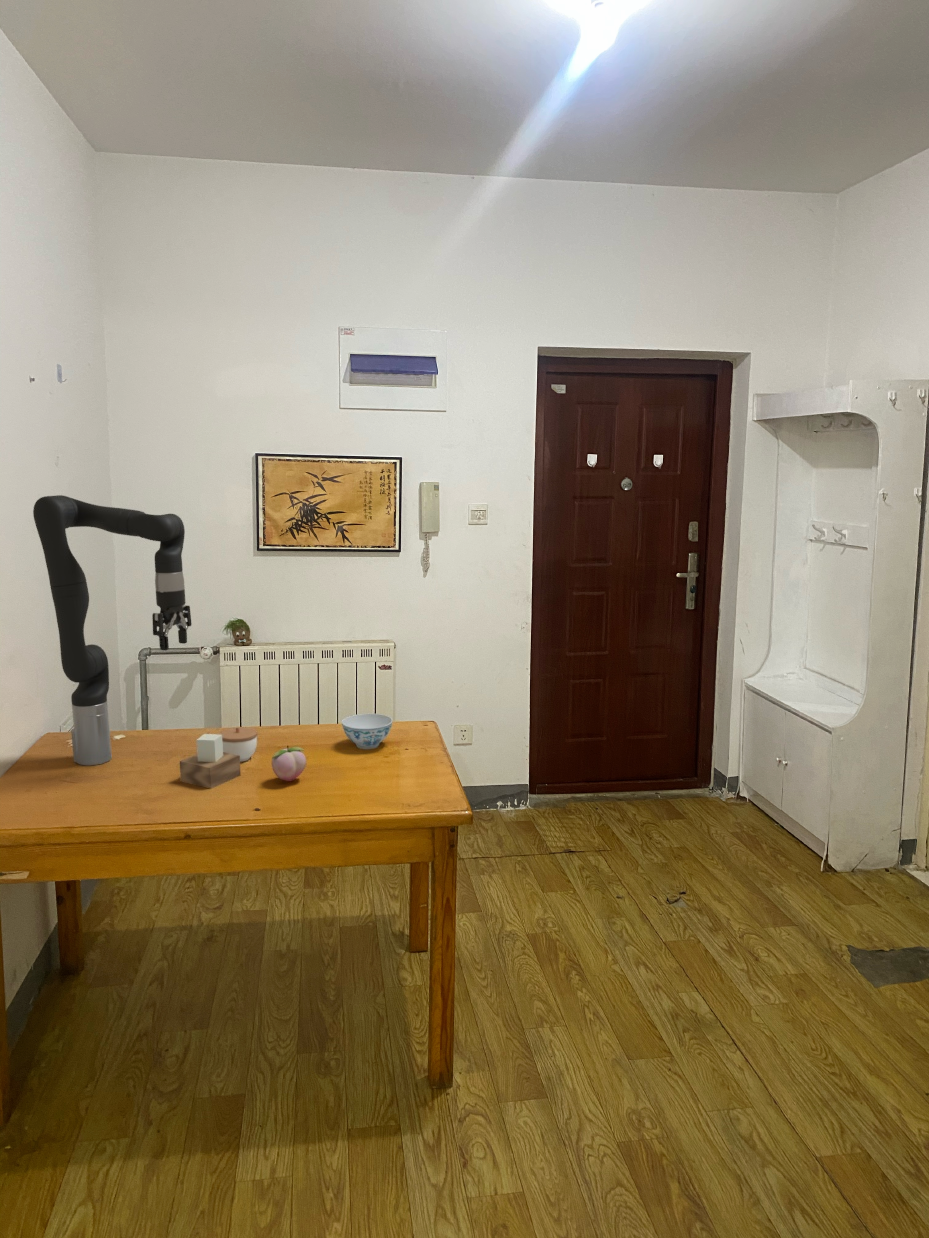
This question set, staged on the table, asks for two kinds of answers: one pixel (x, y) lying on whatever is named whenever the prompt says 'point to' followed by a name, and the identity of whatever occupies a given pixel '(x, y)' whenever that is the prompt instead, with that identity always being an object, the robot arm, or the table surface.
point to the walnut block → (210, 770)
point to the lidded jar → (240, 742)
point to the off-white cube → (209, 747)
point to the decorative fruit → (288, 763)
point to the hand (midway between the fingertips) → (173, 646)
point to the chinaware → (367, 729)
